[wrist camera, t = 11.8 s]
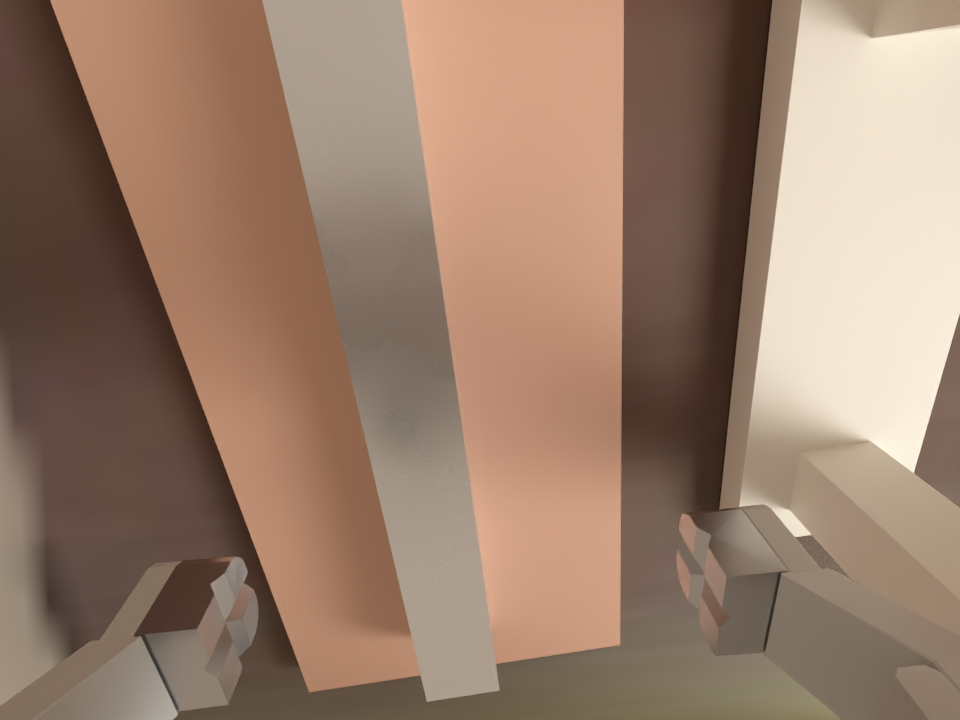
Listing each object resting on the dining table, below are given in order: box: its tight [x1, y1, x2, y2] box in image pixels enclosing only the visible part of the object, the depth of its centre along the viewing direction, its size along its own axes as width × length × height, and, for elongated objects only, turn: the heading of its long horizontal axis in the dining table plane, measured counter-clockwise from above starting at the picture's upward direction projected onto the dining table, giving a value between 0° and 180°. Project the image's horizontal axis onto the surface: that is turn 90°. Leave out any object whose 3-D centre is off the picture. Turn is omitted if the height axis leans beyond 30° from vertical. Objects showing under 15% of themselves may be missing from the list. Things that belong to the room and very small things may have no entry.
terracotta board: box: [50, 0, 624, 692], centre depth 16 cm, size 24×12×1 cm, turn 6°
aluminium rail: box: [262, 0, 500, 702], centre depth 15 cm, size 20×2×2 cm, turn 6°
